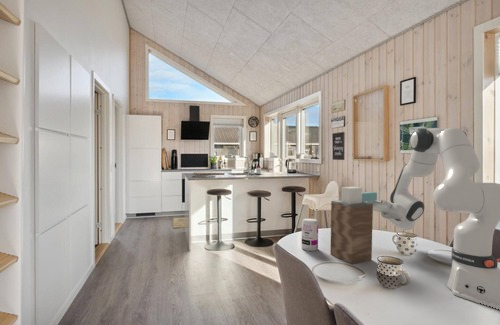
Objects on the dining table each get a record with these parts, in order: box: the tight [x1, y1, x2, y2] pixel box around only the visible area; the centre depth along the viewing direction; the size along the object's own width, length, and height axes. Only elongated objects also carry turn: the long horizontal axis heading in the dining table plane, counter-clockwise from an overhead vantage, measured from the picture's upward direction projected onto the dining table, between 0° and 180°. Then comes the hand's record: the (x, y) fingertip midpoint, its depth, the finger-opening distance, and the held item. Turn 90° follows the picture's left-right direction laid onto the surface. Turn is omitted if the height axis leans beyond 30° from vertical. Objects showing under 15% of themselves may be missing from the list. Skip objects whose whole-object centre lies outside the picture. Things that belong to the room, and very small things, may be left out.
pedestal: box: [329, 199, 374, 265], centre depth 140 cm, size 14×12×26 cm
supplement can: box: [301, 217, 319, 252], centre depth 152 cm, size 8×8×15 cm
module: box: [340, 186, 378, 204], centre depth 142 cm, size 5×19×7 cm, turn 116°
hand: (374, 200), depth 146 cm, fingers open, 8 cm apart
